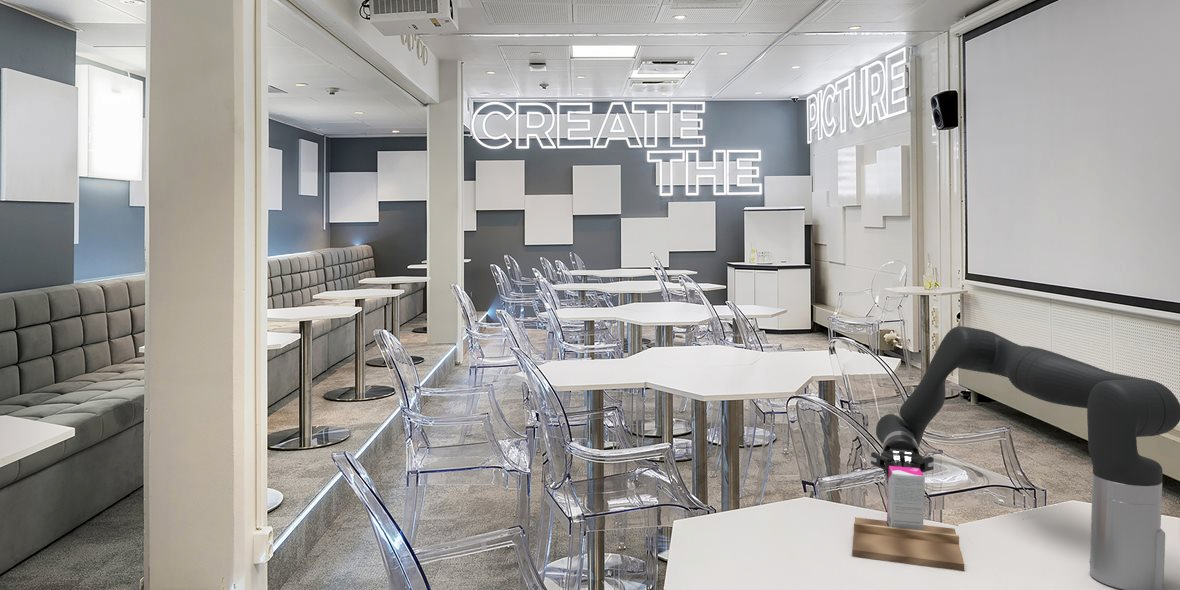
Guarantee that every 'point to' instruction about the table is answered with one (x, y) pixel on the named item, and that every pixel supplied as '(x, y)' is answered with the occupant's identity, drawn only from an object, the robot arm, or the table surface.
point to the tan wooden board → (907, 544)
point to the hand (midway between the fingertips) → (903, 472)
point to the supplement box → (905, 498)
